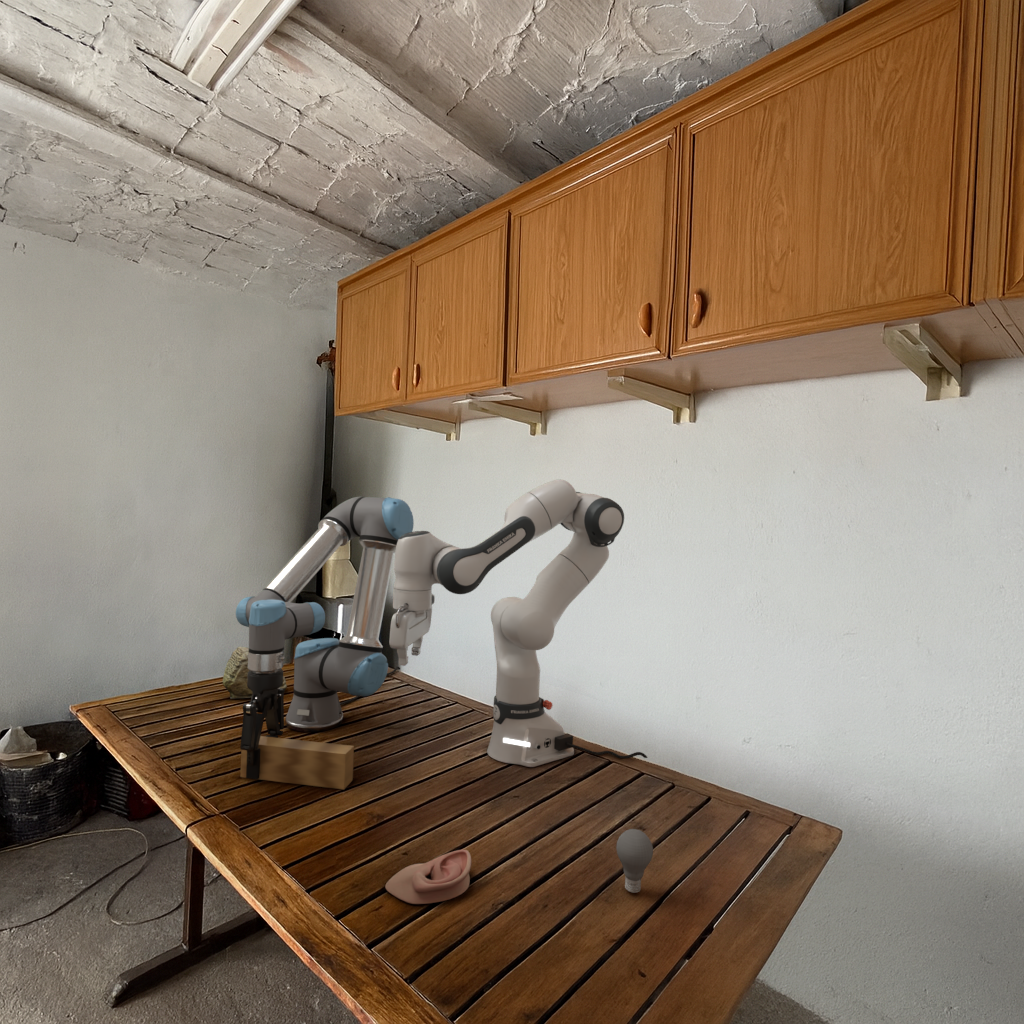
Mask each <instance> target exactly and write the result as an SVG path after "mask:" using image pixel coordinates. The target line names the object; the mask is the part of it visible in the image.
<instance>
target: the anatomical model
mask: <svg viewBox="0 0 1024 1024" xmlns="http://www.w3.org/2000/svg"><path fill="white" fill-rule="evenodd" d="M471 868H472V856H471V853H470V852H469V850H467V849H457V850H454V851H451V852H450V851H449V852H447V853H445V854H442V855H440V856H437V857H436V858H434V859H431V860H429V861H427V862H424V863H414V864H411V865H408V866H406V867H404V868H402V869H400V870H399V871H398V872H396V873H395V874H394V875H393V876H391V877H390V879H388V880H387V882H386V884H385V890H386V891H387V892H388V893H389V894H390V895H392V896H393V897H395V898H397V899H399V900H401V901H403V902H405V903H407V904H410V905H411V904H412V905H426V904H433V903H439V902H444V901H447V900H451V899H454V898H456V897H459V896H460V895H462V894H463V893H465V892H466V891H467V890H468V889H469V887H470V883H471V881H470V880H471V878H470V871H471Z"/></svg>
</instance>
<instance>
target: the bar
mask: <svg viewBox="0 0 1024 1024" xmlns="http://www.w3.org/2000/svg"><path fill="white" fill-rule="evenodd" d="M258 748H260V773H259V779H258V780H261V781H268V782H276V783H277V782H278V783H285V784H294V785H301V786H302V785H303V786H310V787H312V786H313V787H318V788H319V787H320V788H321V787H322V788H327V789H335V790H336V789H337V790H345V789H346V788H347V787H348V786H349V785H350V784H351V783H352V782H353V781H354V779H353V778H354V760H355V759H354V757H355V756H354V755H355V753H354V752H355V746H354V745H349V744H348V745H347V744H340V743H329V742H321V741H312V740H310V741H309V740H303V739H302V740H301V739H293V738H292V739H291V738H282V737H278V738H275V737H266V735H261V736H260V741H259V745H258ZM240 750H241V749H240ZM240 753H241V754H240V778H244V779H247V778H246V766H247V750H241V751H240Z"/></svg>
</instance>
